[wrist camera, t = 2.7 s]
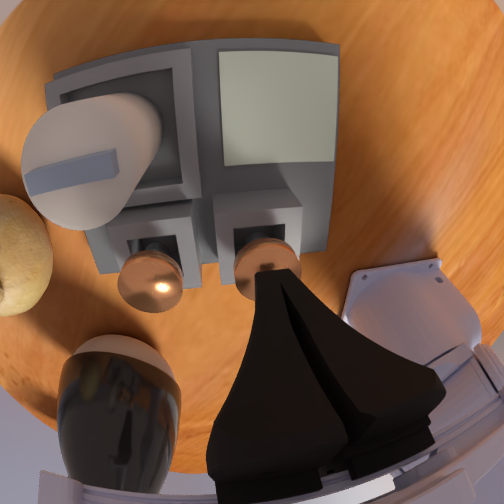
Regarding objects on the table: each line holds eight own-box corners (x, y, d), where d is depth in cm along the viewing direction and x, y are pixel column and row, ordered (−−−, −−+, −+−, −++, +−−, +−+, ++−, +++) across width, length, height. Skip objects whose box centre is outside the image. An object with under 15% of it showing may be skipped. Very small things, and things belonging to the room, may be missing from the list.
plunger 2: (286, 213, 14) (303, 245, 11) (284, 261, 15) (298, 297, 13) (227, 218, 13) (233, 252, 11) (231, 267, 15) (237, 305, 13)
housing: (327, 47, 12) (362, 40, 9) (318, 238, 19) (340, 273, 15) (66, 73, 10) (29, 75, 7) (105, 260, 17) (89, 299, 14)
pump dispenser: (66, 300, 18) (15, 490, 6) (193, 330, 22) (206, 529, 9) (75, 369, 23) (54, 506, 11) (171, 390, 26) (177, 528, 14)
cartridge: (160, 84, 11) (120, 87, 5) (168, 165, 13) (143, 229, 8) (82, 102, 10) (2, 127, 5) (94, 177, 13) (35, 245, 7)
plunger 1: (180, 223, 13) (175, 258, 11) (188, 271, 15) (187, 310, 12) (124, 230, 13) (109, 265, 10) (137, 276, 14) (128, 314, 12)
